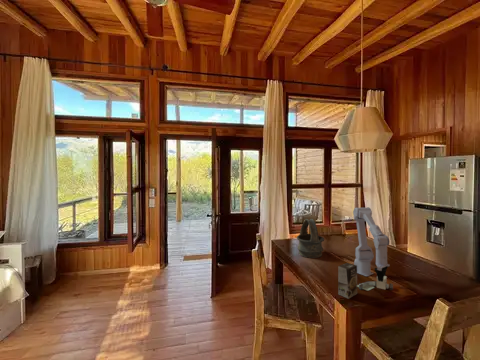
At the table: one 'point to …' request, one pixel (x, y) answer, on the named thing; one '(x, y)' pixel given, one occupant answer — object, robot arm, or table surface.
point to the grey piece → (374, 283)
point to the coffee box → (347, 280)
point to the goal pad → (367, 287)
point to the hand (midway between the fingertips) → (381, 278)
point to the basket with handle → (310, 240)
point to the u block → (382, 283)
